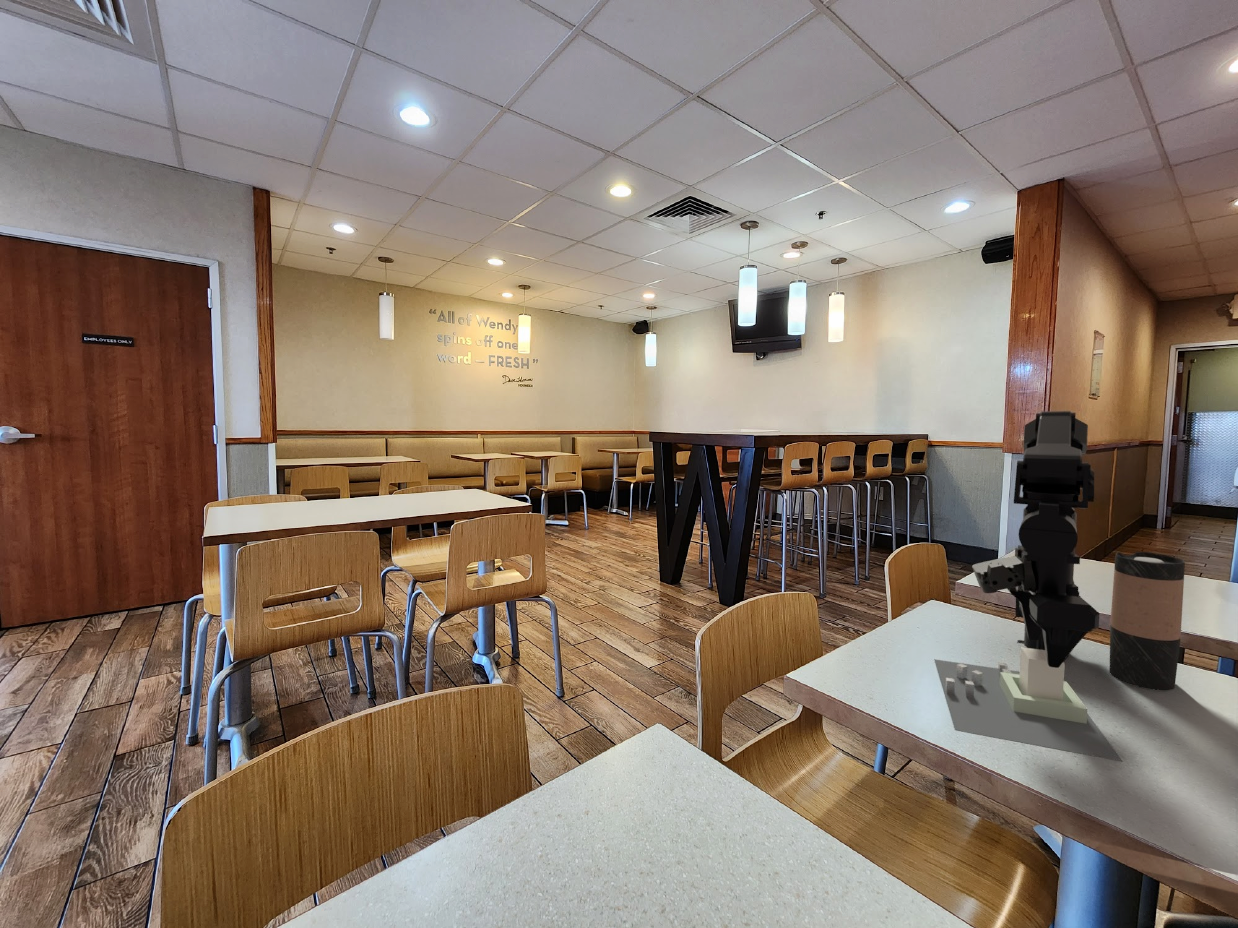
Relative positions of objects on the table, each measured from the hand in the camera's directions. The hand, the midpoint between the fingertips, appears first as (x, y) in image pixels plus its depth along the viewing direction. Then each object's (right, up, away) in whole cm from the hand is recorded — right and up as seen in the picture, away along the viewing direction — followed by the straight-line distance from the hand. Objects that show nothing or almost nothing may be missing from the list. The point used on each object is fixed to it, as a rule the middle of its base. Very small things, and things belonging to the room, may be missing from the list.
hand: (1042, 652), depth 75 cm
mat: (-3, -8, +1) cm, 9 cm away
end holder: (0, -7, +1) cm, 7 cm away
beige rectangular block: (0, -7, +1) cm, 7 cm away
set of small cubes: (-5, -7, +6) cm, 11 cm away
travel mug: (+21, -8, +7) cm, 23 cm away
